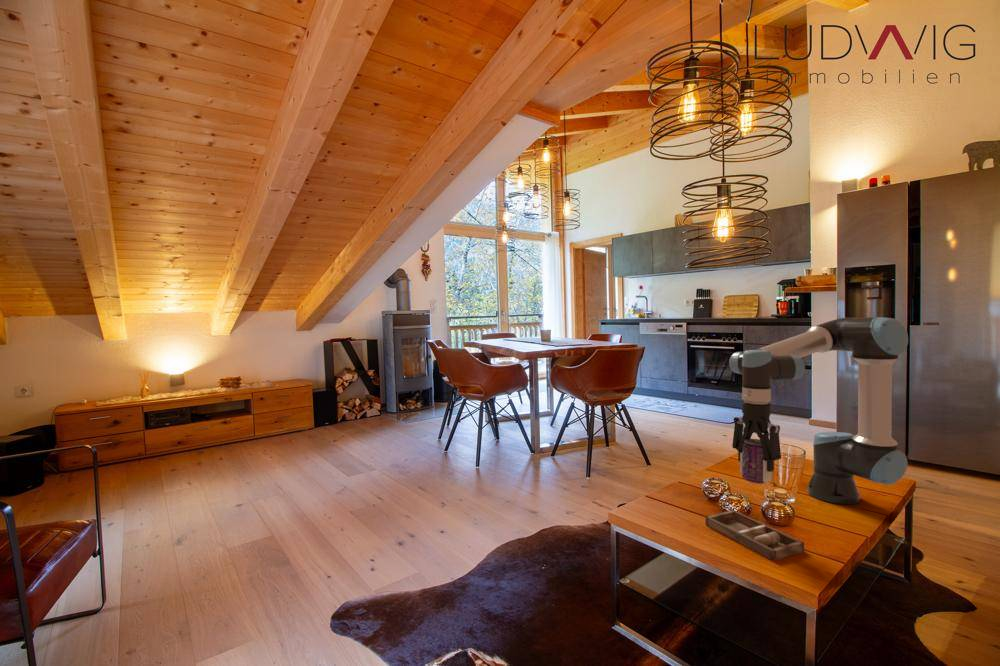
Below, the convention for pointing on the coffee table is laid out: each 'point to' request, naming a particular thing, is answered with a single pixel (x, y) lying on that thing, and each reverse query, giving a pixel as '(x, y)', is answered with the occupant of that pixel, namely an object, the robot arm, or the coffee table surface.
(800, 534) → the coffee table surface
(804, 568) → the coffee table surface
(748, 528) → the tray
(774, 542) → the grey oblong lump
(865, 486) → the coffee table surface
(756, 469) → the beverage can
